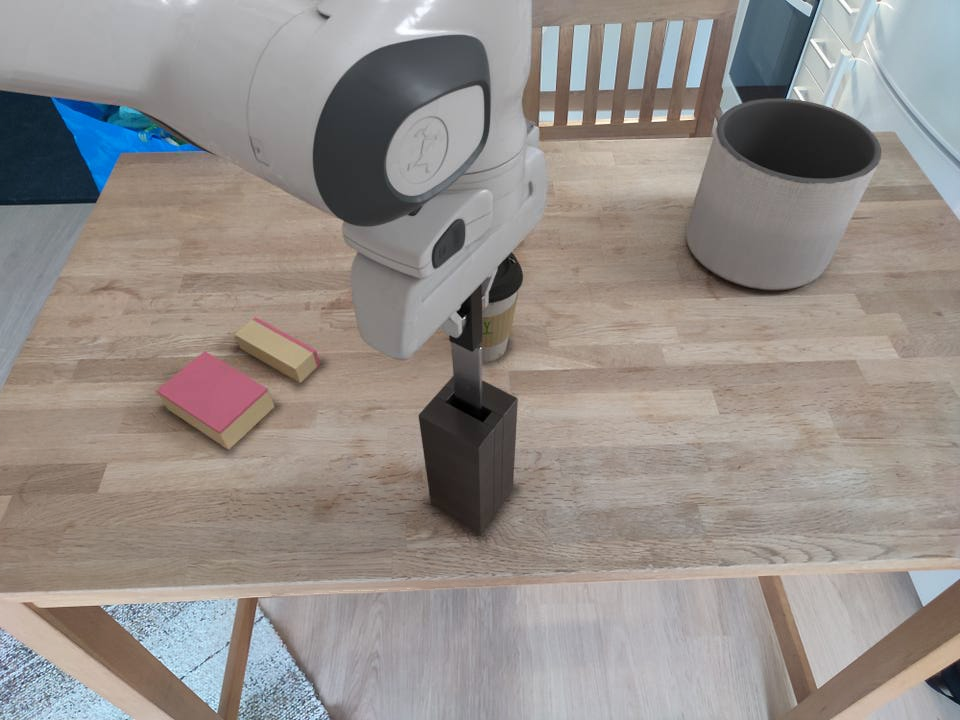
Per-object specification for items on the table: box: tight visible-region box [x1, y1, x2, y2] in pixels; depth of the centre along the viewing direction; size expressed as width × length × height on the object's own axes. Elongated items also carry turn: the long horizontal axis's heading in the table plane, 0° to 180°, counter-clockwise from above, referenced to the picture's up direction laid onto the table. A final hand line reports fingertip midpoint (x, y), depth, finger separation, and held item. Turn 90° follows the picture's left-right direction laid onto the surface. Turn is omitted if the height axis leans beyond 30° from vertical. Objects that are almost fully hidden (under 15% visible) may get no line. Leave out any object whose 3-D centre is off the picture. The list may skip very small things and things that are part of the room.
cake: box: [155, 350, 275, 450], centre depth 85 cm, size 8×12×4 cm
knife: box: [448, 283, 483, 422], centre depth 61 cm, size 2×3×25 cm, turn 57°
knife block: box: [417, 376, 519, 536], centre depth 71 cm, size 7×7×18 cm
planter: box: [685, 97, 882, 291], centre depth 98 cm, size 22×22×20 cm
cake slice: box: [234, 316, 321, 384], centre depth 91 cm, size 3×12×4 cm
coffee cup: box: [479, 251, 524, 363], centre depth 87 cm, size 10×10×15 cm
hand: (464, 319), depth 55 cm, fingers closed on knife, 2 cm apart
